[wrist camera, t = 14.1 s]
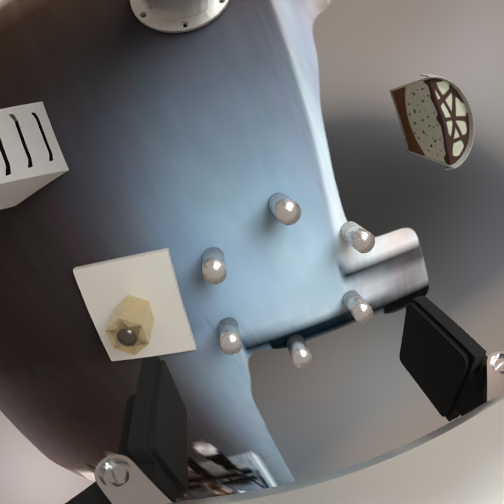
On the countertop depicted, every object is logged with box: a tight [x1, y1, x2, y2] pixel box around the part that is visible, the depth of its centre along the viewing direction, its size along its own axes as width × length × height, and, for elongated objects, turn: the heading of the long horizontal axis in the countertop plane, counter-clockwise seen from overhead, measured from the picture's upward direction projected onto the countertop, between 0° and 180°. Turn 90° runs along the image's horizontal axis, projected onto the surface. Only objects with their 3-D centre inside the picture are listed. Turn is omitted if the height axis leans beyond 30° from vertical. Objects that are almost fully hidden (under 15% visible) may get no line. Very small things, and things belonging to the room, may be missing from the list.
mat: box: [73, 248, 196, 361], centre depth 42 cm, size 16×14×1 cm
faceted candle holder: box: [105, 295, 154, 355], centre depth 39 cm, size 6×5×6 cm
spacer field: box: [202, 193, 375, 368], centre depth 42 cm, size 25×22×5 cm
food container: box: [390, 74, 474, 170], centre depth 34 cm, size 12×6×10 cm, turn 22°
